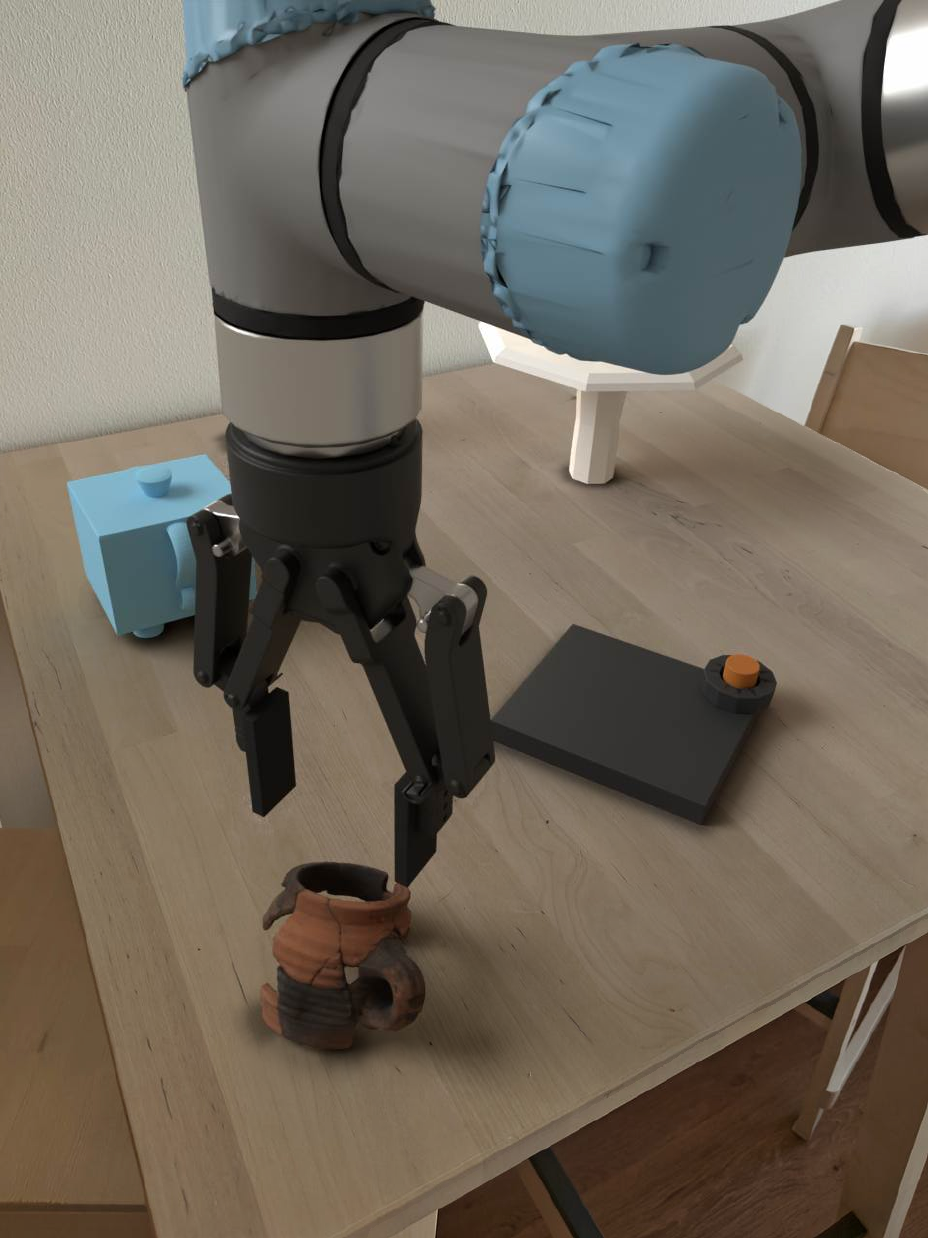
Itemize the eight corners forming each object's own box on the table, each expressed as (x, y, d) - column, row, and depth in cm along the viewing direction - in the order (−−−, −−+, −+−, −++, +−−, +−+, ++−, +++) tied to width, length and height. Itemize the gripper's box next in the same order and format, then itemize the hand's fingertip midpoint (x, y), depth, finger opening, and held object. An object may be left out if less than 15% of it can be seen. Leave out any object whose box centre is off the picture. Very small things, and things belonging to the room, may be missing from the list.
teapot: (129, 668, 83) (103, 531, 75) (82, 576, 94) (55, 449, 86) (330, 610, 91) (324, 481, 83) (265, 532, 101) (255, 412, 94)
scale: (774, 702, 82) (784, 669, 80) (711, 829, 71) (720, 793, 69) (576, 633, 89) (580, 601, 87) (488, 738, 77) (491, 703, 75)
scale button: (760, 676, 80) (764, 660, 79) (750, 694, 78) (754, 678, 77) (728, 665, 81) (732, 650, 80) (718, 682, 79) (721, 667, 78)
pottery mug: (216, 1004, 58) (236, 867, 58) (338, 967, 66) (357, 845, 65) (355, 1106, 51) (380, 949, 50) (476, 1052, 58) (500, 914, 57)
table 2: (707, 556, 101) (739, 398, 91) (438, 511, 106) (442, 358, 97) (722, 441, 123) (750, 305, 114) (499, 409, 128) (508, 276, 119)
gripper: (616, 448, 37) (559, 866, 50) (184, 332, 45) (232, 718, 58) (524, 534, 32) (487, 978, 45) (51, 386, 40) (137, 798, 53)
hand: (342, 831), depth 52 cm, fingers open, 8 cm apart
